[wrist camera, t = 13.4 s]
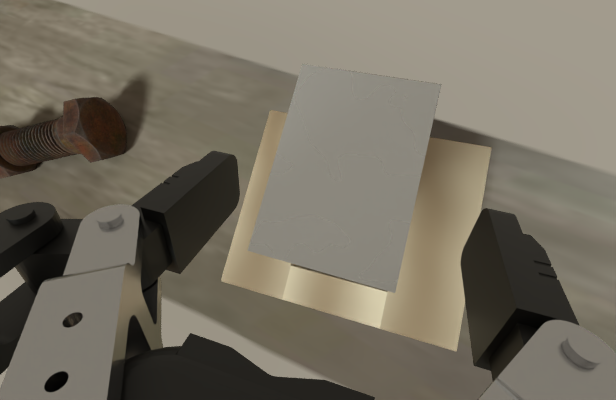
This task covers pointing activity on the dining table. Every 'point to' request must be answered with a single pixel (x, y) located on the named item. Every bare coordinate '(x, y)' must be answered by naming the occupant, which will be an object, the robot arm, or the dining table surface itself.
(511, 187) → the dining table surface
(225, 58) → the dining table surface
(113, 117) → the bolt
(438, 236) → the open beige box
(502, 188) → the dining table surface
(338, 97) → the tall grey square pillar
